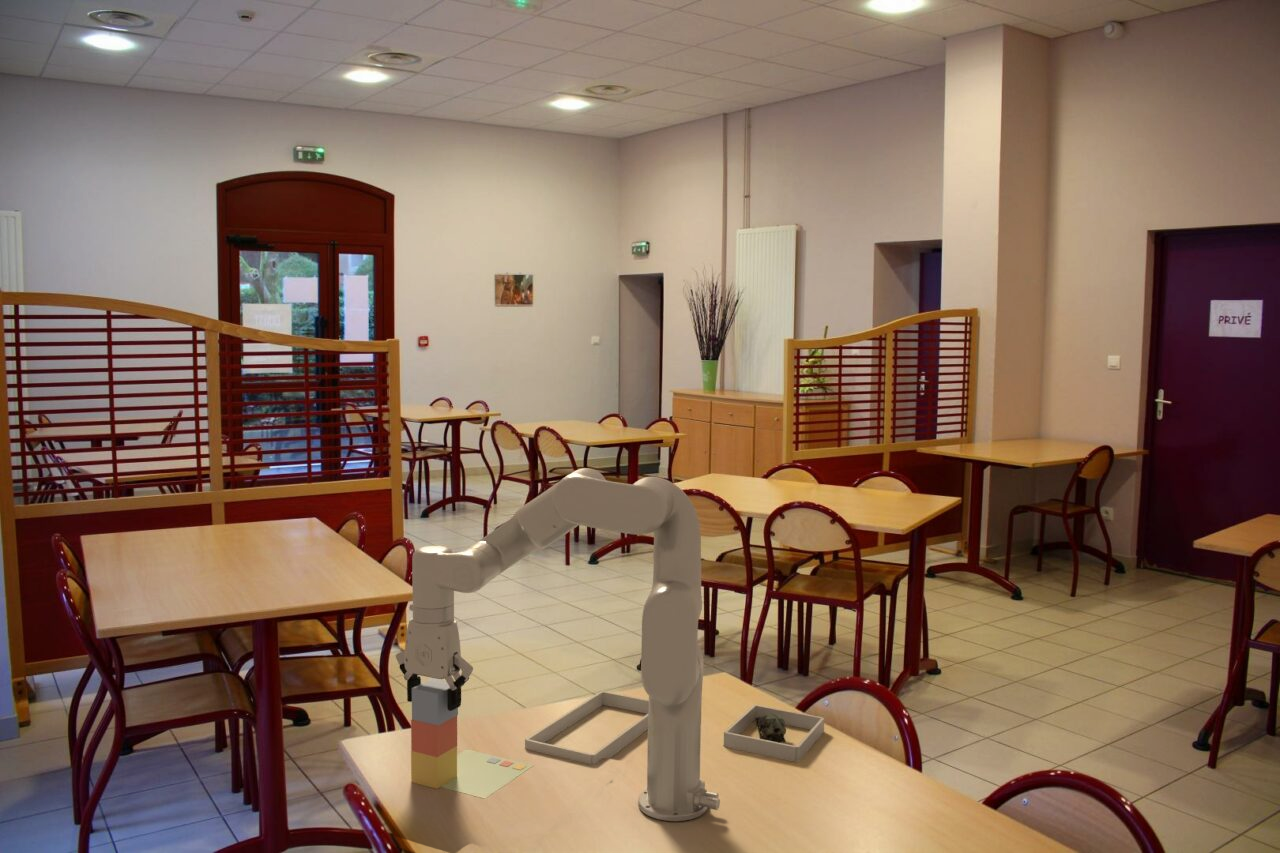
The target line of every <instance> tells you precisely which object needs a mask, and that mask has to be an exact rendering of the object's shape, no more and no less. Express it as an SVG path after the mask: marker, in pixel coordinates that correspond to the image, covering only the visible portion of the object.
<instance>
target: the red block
mask: <svg viewBox="0 0 1280 853" xmlns="http://www.w3.org/2000/svg"><path fill="white" fill-rule="evenodd" d="M410 730H411V731H410V733H411V734H410V737H411V738H410V739H411V740H410V741H411V743H410V744H411V746H410V750H411V751H414V752H418V753H422V754H426V755H430V756H434V757H439V756H440V755H442V754H444V753H446V752H447V751H449V750H451V749H452V748H454V747H456V746H457V747H458V715H457V716H455V717H453V718H451V719H449V720H448V721H446V722H444V723H442V724H440V725H438V726H437V725H433V724H428V723H424V722H420V721H415V720H412V718H411V719H410ZM411 751H410V752H411Z"/></svg>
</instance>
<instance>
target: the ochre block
mask: <svg viewBox="0 0 1280 853" xmlns="http://www.w3.org/2000/svg"><path fill="white" fill-rule="evenodd" d="M457 755H458V745H457V746H456V747H454V748H452V749H451V750H449V751H447V752H446V753H444V754H442V755H440V756H439V757H434V756H430V755H426V754H422V753H418V752H414V751H410V756H411V757H410V764H411V765H410V766H411V769H410V770H411V771H410V774H411V777H410V778H411V779H410V780H411V783H414V784H417V785H421V786H424V787H428V788H432V789H439V788H442V787H441V786H442V785H444V784H446V783H447V782H449V781H451V780H452V779H454V778H455V777H457Z"/></svg>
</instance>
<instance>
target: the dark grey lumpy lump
mask: <svg viewBox="0 0 1280 853" xmlns="http://www.w3.org/2000/svg"><path fill="white" fill-rule="evenodd" d="M755 721H756V722H755V723H756V727H758V728H757V732H758V738H759V739H763V740H768V741H773V742H780V743H786V738H785V734H786V732H787V729H786V728H785V726H786V725H785V721H784V719H783V718H782V717H780V716H779V715H773V714H769V715H766V716H763V717H758V718H756V719H755ZM758 730H759V731H758ZM761 733H762V734H761Z"/></svg>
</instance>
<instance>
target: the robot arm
mask: <svg viewBox="0 0 1280 853" xmlns="http://www.w3.org/2000/svg"><path fill="white" fill-rule="evenodd" d="M578 526H583V527H588V528H593V529H598V530H599V529H600V530H605V531H610V532H611V531H612V532H616V533H617V532H618V533H622V534H629V535H636V536H637V535H642V536H644V535H648V534H651V533H653V553H652V555H653V556H652V559H653V561H652V562H653V568H652V569H653V570H652V571H653V573H652V574H653V575H652V586H651V591H650V593H649V595H648V596H647V598H646V600H645V603H644V606H643V610H642V616H641V648H640V649H641V655H640V656H641V658H640V660H641V661H640V664H641V666H640V676H641V683H642V687H643V689H644V691H645V693H646V695H648V700H649V706H648V729H647V762H646V763H647V770H646V773H647V774H646V789H645V790H643V791H642V792H641V793H640V794H639V796H638V799H637V801H638V802H637V805H638V807H639V809H640V811H642V813H644V814H645V815H646V816H648V817H651V818H653V819H656V820H661V821H666V822H684V821H690V820H694V819H697V818H698V817H702V815H703V814H705V813H706V812H707V810H708V809H710V810H715V811H718V810H719V808H720V807H721V805H720V804H721V800H720V798H719V793H718V792H713V791H708V790H707V789H706V781H705V780H702V779H701V734H702V725H701V724H702V701H703V699H702V698H703V697H702V696H703V683H704V682H703V681H704V680H703V679H704V655H703V651H702V649H701V647H700V644H699V643H698V633H699V632H698V631H699V630H698V629H699V619H700V616H701V613H702V609H703V596H702V534H701V526H700V520H699V515H698V513H697V510H696V508H695V506H694V504H693V502H692V501H691V499H690V498H689V496H688V495H687V494H686V492H684V490H682V488H680V487H679V486H678V485H676V484H675V483H673V482H671V481H670V480H668V479H665V478H662V477H659V476H645V477H643V478H640V479H638V480H637V481H635V482H634V483H632V484H631V483H626V482H625V483H624V482H617V481H611V480H606V478H605V476H604V475H603V474H602V473H601V472H599V471H598V470H596V469H593V468H590V467H589V468H587V467H583V468H579V469H576V470H574V471H572V472H571V473H569V474H567V475H565V477H563V478H561V479H560V481H558V482H556V483H555V484H553V485H552V486H551V487H549V488H548V489H546V490H545V491H543V492H541V494H539V495H538V496H536V497H535V498H533V499H532V500H530V501H529V502H527V503H526V504H524V505H523V506H521V507H519V508H518V510H517V511H516V512H515V513H514V514H513V516H512V517H511V518H510V519H508V520H507V521H505V522H504V523H503V524H502V525H500V526H499V527H497V528H496V529H494V530H493V531H491V532H490V533H488V534H487V535H485V536H484V537H482V538H481V539H479V540H478V541H476V542H475V543H473V544H472V545H470V546H468V547H467V548H465V549H463V550H461V551H458V552H453V551H452V549H451V548H450V547H448V546H444V545H427V546H421V547H419V548H417V549H415V551H413V554H412V556H411V557H412V561H411V562H412V564H411V566H412V568H411V569H412V571H411V572H412V579H411V580H412V603H410V604H409V607H408V608H409V611H410V612H412V618H410V619H409V621H408V624H407V630H406V635H405V641H404V642H405V643H404V650H402V651H400V652H398V653H396V654H395V658H396V661H397V663H398V665H399V669H400V671H401V672H402V674H403V678H404V680H405V681H406V696H407V698H406V700H407V702H410V703H412V688H413V687H415V686H418V685H420V684H422V678H421V677H425V678H430V679H437V680H444V681H446V682H447V683H448V685H449V687H450V688H451V689H449V690H448V691H447V707H448V710H449V711H452V710H454V709H456V708H458V709H459V708H460V707H461V706H462V705H461V704H462V687H463V686H465V684H466V682H468V681H469V679H470V676H471V675H472V673H473V671H474V667H473V666H472V665H471V664H470V663H469V662H468V661H466V660H465V659H464V658H463V657H462V655H461V650H462V649H461V642H460V641H461V640H460V632H459V627H458V624H457V620H455V592H459V593H463V594H471V593H475V592H478V591H479V590H481V589H482V588H483V587H485V586H486V585H487V584H488V583H489V582H492V580H493V579H495V578H497V577H498V576H499V575H501V574H502V573H504V572H505V571H507V569H509V568H511V567H513V565H515V564H516V563H518V562H520V561H521V560H522V559H524V558H525V557H527V556H529V555H530V554H532V553H534V552H536V551H540V550H541V551H542V550H544V549H546V548H547V547H549V546H550V545H552V544H554V542H556V541H558V540H559V539H561V538H562V537H563V536H565V535H566V534H568V533H569V532H571V531H572V530H574V529H575V528H578ZM460 671H461V674H460Z"/></svg>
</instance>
